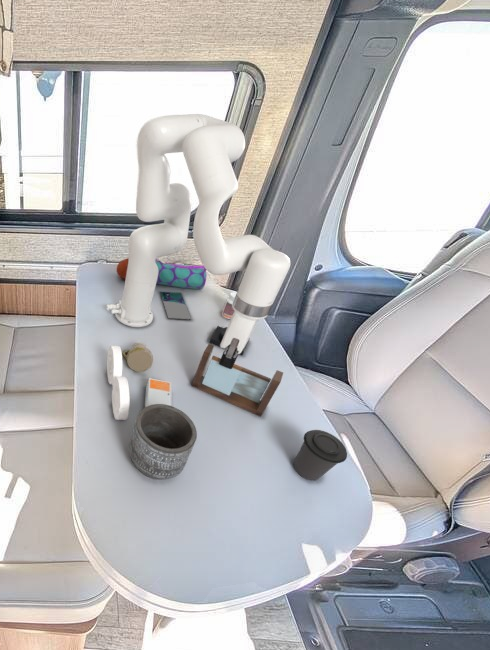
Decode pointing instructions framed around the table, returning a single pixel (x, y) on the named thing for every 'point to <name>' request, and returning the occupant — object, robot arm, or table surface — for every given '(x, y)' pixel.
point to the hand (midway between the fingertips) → (226, 364)
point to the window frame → (241, 387)
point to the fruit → (122, 268)
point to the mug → (139, 357)
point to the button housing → (221, 337)
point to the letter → (118, 384)
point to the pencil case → (181, 275)
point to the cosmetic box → (158, 392)
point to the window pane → (221, 376)
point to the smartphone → (175, 305)
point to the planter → (162, 441)
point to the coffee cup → (318, 454)
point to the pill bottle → (229, 306)
